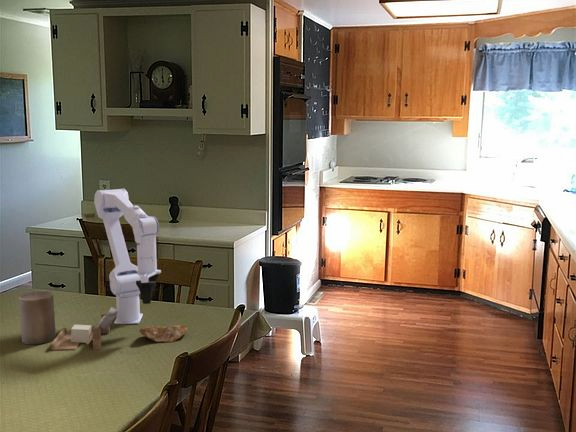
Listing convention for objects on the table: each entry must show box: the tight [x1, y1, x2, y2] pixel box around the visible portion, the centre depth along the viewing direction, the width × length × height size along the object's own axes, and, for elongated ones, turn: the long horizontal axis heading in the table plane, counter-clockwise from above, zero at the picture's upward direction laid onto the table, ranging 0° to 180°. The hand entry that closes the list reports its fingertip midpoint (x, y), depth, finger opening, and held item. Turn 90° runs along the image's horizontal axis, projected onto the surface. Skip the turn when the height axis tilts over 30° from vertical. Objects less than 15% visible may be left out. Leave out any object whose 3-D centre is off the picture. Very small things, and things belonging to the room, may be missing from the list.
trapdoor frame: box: [50, 312, 111, 351], centre depth 188 cm, size 15×14×6 cm
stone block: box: [70, 324, 93, 344], centre depth 188 cm, size 4×4×5 cm
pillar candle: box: [18, 290, 57, 345], centre depth 188 cm, size 10×10×15 cm
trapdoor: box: [85, 306, 118, 346], centre depth 188 cm, size 11×10×3 cm
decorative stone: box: [139, 324, 188, 343], centre depth 192 cm, size 10×4×15 cm
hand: (148, 300), depth 194 cm, fingers open, 7 cm apart
